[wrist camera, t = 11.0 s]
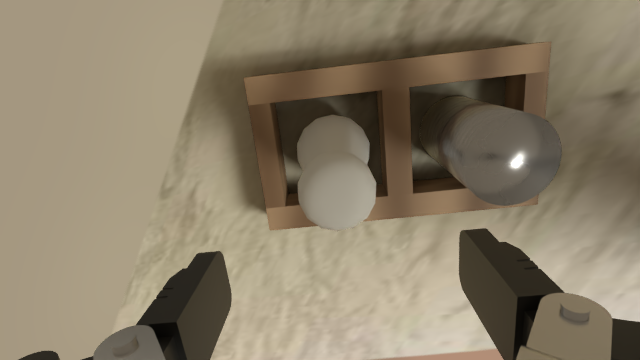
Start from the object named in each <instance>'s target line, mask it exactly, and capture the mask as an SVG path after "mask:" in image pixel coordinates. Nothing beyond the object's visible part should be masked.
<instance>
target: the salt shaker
mask: <svg viewBox="0 0 640 360" xmlns="http://www.w3.org/2000/svg"><path fill="white" fill-rule="evenodd" d="M369 145H370V143H369V141H368V139H367V137H366V135H365V133H364V131H363V129H362V128H361V127H360V126H359V125H358V124H356V123H355V122H354V121H353V120H351V119H350V118H347V117H342V116H337V115H329V116H325V117H321V118H317V119H315V120H314V121H313V122H312V123H311V124H309V125H308V126H307V127H306V128H305V129H304V130H303V132H302V134H301V136H300V139H299V141H298V143H297V156H298V162H299V164H300V166H301V168H302V170H303V173H302V175H301V177H300V179H299V182H298V198H299V203H300V206H301V208H302V209H303V211H304V213H305V215H306V217H307V218H308V219H309V220H310V221H312V222H313V223H315V224H316V225H318V226H319V227H321V228H324V229H329V230H334V231H341V230H345V229H349V228H353V227H355V226H357V225H358V224H359V223H361V222H362V221H364V220H365V219H366V218H368V216H369V214H370V212H371V210H372V208H373V206H374V204H375V200H376V181H375V179H374V177H373V175H372V173H371V171H370V169H369V167H368V166H367V164H368V160H369Z"/></svg>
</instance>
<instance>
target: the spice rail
mask: <svg viewBox="0 0 640 360" xmlns="http://www.w3.org/2000/svg"><path fill="white" fill-rule="evenodd" d="M550 51H551V42H541V43H530V44H521V45H513V46H504V47H496V48H487V49H479V50H470V51H462V52H454V53H445V54H437V55H428V56H420V57H411V58H403V59H394V60H386V61H377V62H369V63H360V64H352V65H343V66H335V67H326V68H318V69H309V70H301V71H292V72H284V73H276V74H267V75H259V76H251V77H246V78H244V83H245V89H246V95H247V101H248V107H249V112H250V118H251V124H252V130H253V136H254V141H255V147H256V153H257V159H258V165H259V170H260V176H261V182H262V188H263V193H264V199H265V205H266V211H267V217H268V222H269V228H270V230H280V229H290V228H300V227H311V226H318V225H316V224H315V223H313V222H312V221H310V220H309V219H308V218H307V217H306V215H305V213H304V211H303V209H302V208H301V206H300V203H299V198H298V193H292V194H289V192H288V185H287V178H286V172H285V165H284V158H283V151H282V145H281V138H280V131H279V125H278V118H277V111H276V105H275V102H283V101H292V100H300V99H309V98H318V97H327V96H335V95H344V94H353V93H362V92H371V91H377V105H378V122H379V138H380V154H381V170H382V184H380V185H376V200H375V204H374V206H373V208H372V210H371V212H370V214H369V216H368V218H366V219H365V220H364V221H372V220H382V219H393V218H403V217H413V216H423V215H434V214H444V213H454V212H464V211H475V210H485V209H495V208H505V207H515V206H526V205H536V204H538V195H539V194H538V195H536V196H535V197H533V198H531V199H530V200H528V201H525V202H523V203H519V204H516V205H510V206H500V205H494V204H490V203H487V202H485V201H483V200H481V199H480V198H478V197H477V196H476V195H474V194H473V193H472V192H471V191H470V190H469V189H468V188H467V187H465V186H464V185H463V184H462V183H461V182H460V181H459V180H457V179H456V178H455V177H449V178H439V179H429V180H419V181H412V151H411V122H410V92H409V87H414V86H423V85H432V84H441V83H449V82H458V81H467V80H476V79H484V78H493V77H502V76H506V85H505V106H504V107H507V108H511V109H515V110H519V111H523V112H527V113H531V114H535V115H537V116H540V117H542V118H543V119H545V111H546V99H547V87H548V75H549V63H550Z"/></svg>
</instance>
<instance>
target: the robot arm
mask: <svg viewBox="0 0 640 360" xmlns="http://www.w3.org/2000/svg"><path fill="white" fill-rule="evenodd" d="M459 276H460V282H461V286H462V289H463V291H464V293H465V295H466V296H467V298H468V300H469V301H470V303H471V305H472V307H473V308H474V310H475V312H476V313H477V315H478V317H479V318H480V320H481V322H482V324H483V325H484V327H485V329H486V330H487V332H488V334H489V335H490V337H491V339H492V341H493V342H494V344H495V346H496V347H497V349H498V351H499V352H500V354H501V356H502V357H503V359H504V360H640V322H635V321H627V320H619V319H614V318H612V317H611V315H610V314H609V312H608V311H607V310H606V309H605V308H604V307H602V306H601V305H599V304H598V303H596V302H594V301H592V300H590V299H588V298H585V297H582V296H579V295H575V294H569V293H564V292H563V291H562V290H561V289H560V288H559V287H558V286H557V285H556V284H555V283H554V282H553V281H552V280H551V279H550V278H549V277H548V276H547V275H546V274H545V273H544V272H543V271H542V270H541V269H538V266H537V265H536V264H535V263H534V262H533V261H530V258H529V257H528V256H527V255H526V254H525V253H524V252H523V251H521V250H520V249H519V248H517V247H515V246H513V245H511V244H509V243H507V242H499V241H498V240H497V239H496V238H495V237H494V236H493V235H492V234H491V233H490V232H489V231H488V230H487V229H485V228H484V229H473V230H462V231H461V233H460V242H459ZM230 307H231V288H230V284H229V279H228V275H227V270H226V265H225V261H224V257H223V254H222V253H221V252H220V251H216V252H205V253H198V254H197V255H196V256H195V257H194V259H193V260H192V262H191V263H190V265H189V266H188V268H186V269H182V270H180V271H179V272H178V273H176V274H175V275H174V276H172V277H171V278H170V279H169V280H168V282H167V283H166V285H165V286H164V287H163V290H161V291H160V293H159V294H158V295H157V297H156V299H155V300H154V301H153V302H152V304H151V305H150V306H149V308H148V309H147V310H146V312H145V313H144V315H143V316H142V317H141V319H140V320H139V321H138V323H137V324H136V325H135V326H131V327H127V328H125V329H122V330H120V331H118V332H116V333H114V334H112V335H111V336H109V337H108V338H107V339H105V340H104V341H103V342H102V343H101V344H100V345H99V346H98V347H97V349H96V350H95V352H94V355H93V356H92V357H89V358H86V359H82V360H210V358H211V355H212V353H213V350H214V348H215V345H216V343H217V340H218V338H219V335H220V333H221V330H222V328H223V325H224V323H225V320H226V318H227V315H228V313H229V310H230ZM19 360H60V359H59V356H58V354H57V353H56V352H53V351H41V352H37V353H33V354H30V355H28V356H25V357H23V358H21V359H19Z"/></svg>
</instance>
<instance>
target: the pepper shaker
mask: <svg viewBox="0 0 640 360" xmlns="http://www.w3.org/2000/svg"><path fill="white" fill-rule="evenodd" d="M420 140H421V143H422V146H423V148H424V149H425V151H426V152H427V153H428V154H429V155H430V156H431V157H433V158H434V159H435V160H436V161H437V162H438V163H439V164H440V165H442V166H443V167H444V168H445V169H446V170H447V171H448V172H450V173H451V174H452V175H453V176H454V177H455V178H456V179H457V180H459V181H460V182H461V183H462V184H463V185H464V186H465V187H467V188H468V189H469V190H470V191H471V192H472V193H473V194H474V195H476V196H477V197H478V198H480V199H481V200H483V201H485V202H487V203H490V204H494V205H500V206H510V205H516V204H519V203H523V202H525V201H528V200H530V199H531V198H533V197H535V196H536V195H538V194H539V193H540V192H542V191H543V190H544V189H545V188H546V187H547V186H548V185H549V183H550V182H551V181H552V180H553V178H554V176H555V175H556V172H557V170H558V168H559V165H560V161H561V151H562V149H561V142H560V139H559V136H558V134H557V132H556V130H555V129H554V127H553V126H552V125H551V124H550V123H549V122H548V121H546V120H545V119H543V118H542V117H540V116H537V115H535V114H531V113H527V112H523V111H519V110H515V109H511V108H507V107H503V106H499V105H495V104H491V103H487V102H483V101H479V100H475V99H471V98H467V97H462V96H451V97H447V98H444V99H442V100H440V101H438V102H436V103H435V104H434V105H432V106H431V107H430V108H429V109H428V111H427V112H426V113H425V115H424V117H423V119H422V122H421V125H420Z"/></svg>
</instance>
